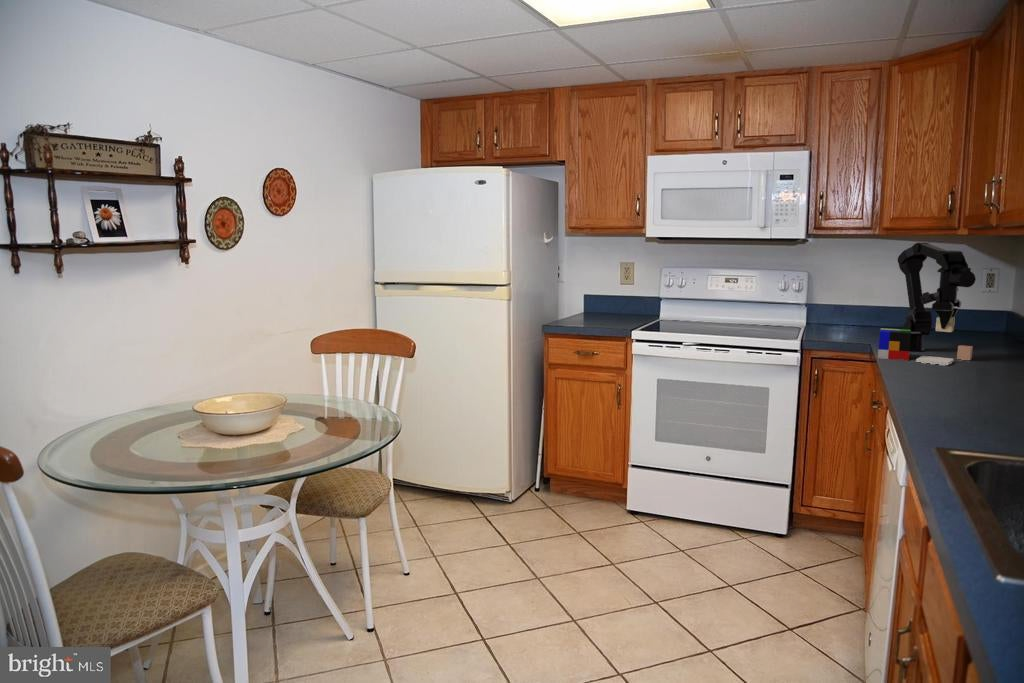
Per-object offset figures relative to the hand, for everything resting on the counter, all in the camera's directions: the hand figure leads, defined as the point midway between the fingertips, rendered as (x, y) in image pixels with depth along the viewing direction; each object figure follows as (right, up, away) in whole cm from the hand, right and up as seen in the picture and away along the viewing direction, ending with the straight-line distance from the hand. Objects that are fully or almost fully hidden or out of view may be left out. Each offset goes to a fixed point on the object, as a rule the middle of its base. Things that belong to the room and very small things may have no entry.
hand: (944, 328), depth 266 cm
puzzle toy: (-17, -11, +3) cm, 21 cm away
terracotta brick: (+6, -12, -2) cm, 13 cm away
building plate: (-8, -12, -7) cm, 16 cm away
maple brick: (0, -1, 0) cm, 1 cm away
